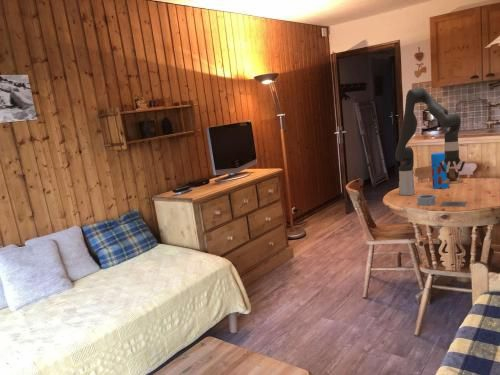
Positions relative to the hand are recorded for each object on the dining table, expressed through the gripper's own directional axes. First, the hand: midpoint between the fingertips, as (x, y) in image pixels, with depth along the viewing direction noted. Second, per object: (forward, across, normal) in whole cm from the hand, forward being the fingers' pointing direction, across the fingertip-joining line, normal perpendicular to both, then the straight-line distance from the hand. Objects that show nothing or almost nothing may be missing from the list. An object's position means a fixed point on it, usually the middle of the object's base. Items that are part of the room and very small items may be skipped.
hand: (452, 178), depth 226 cm
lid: (+2, 0, 0) cm, 2 cm away
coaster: (+16, 0, 0) cm, 16 cm away
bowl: (+16, -15, 0) cm, 22 cm away
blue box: (+17, -15, +51) cm, 55 cm away
